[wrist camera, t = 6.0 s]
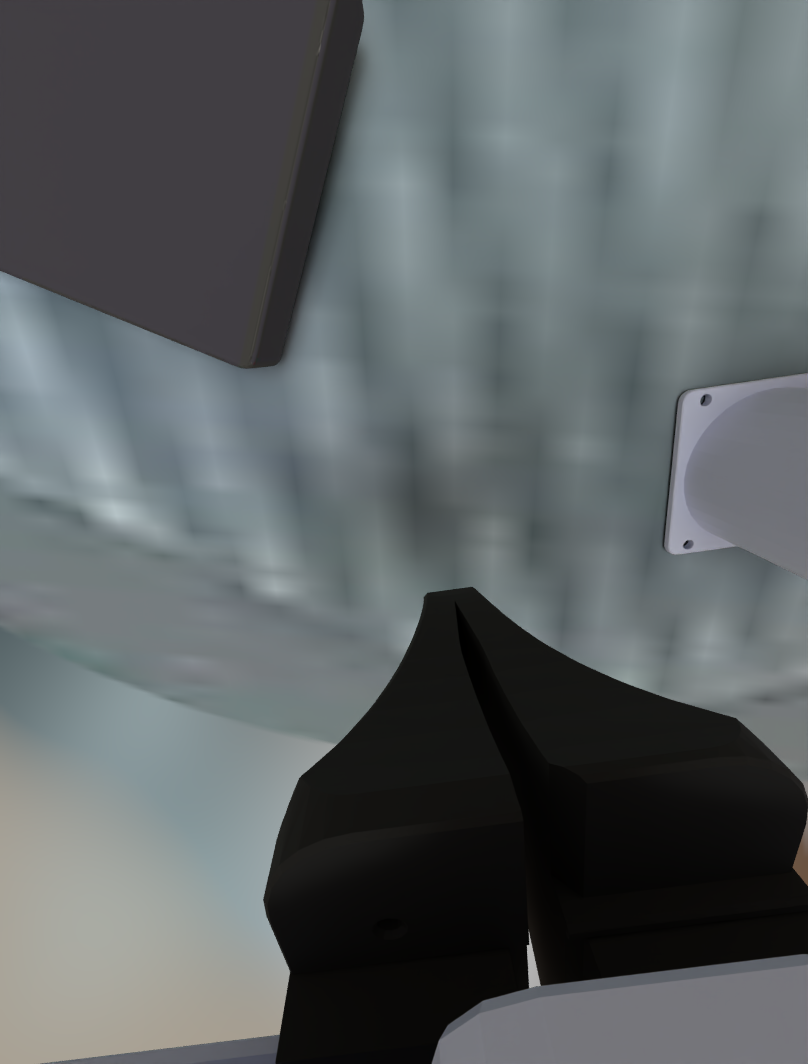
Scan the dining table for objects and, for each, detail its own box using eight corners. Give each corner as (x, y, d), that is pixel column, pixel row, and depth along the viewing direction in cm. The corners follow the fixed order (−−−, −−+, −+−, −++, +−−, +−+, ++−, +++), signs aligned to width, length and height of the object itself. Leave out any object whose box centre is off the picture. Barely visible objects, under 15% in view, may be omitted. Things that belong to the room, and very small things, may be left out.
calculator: (372, 24, 13) (-139, -244, 11) (351, -116, 9) (-438, -562, 7) (284, 369, 17) (-97, 213, 16) (244, 374, 13) (-270, 166, 12)
